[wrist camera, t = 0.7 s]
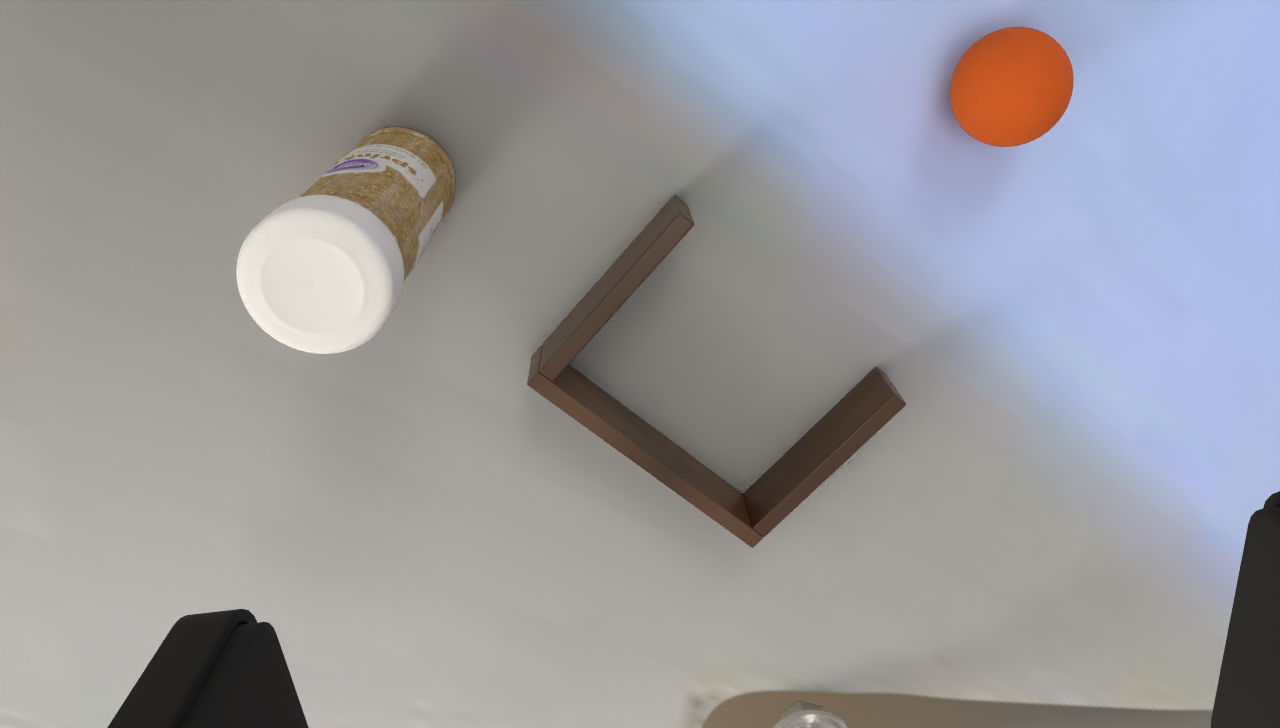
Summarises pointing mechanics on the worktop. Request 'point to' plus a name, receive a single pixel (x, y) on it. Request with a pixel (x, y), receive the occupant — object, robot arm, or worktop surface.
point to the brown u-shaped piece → (662, 457)
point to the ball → (1011, 86)
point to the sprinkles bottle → (346, 243)
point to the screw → (808, 717)
